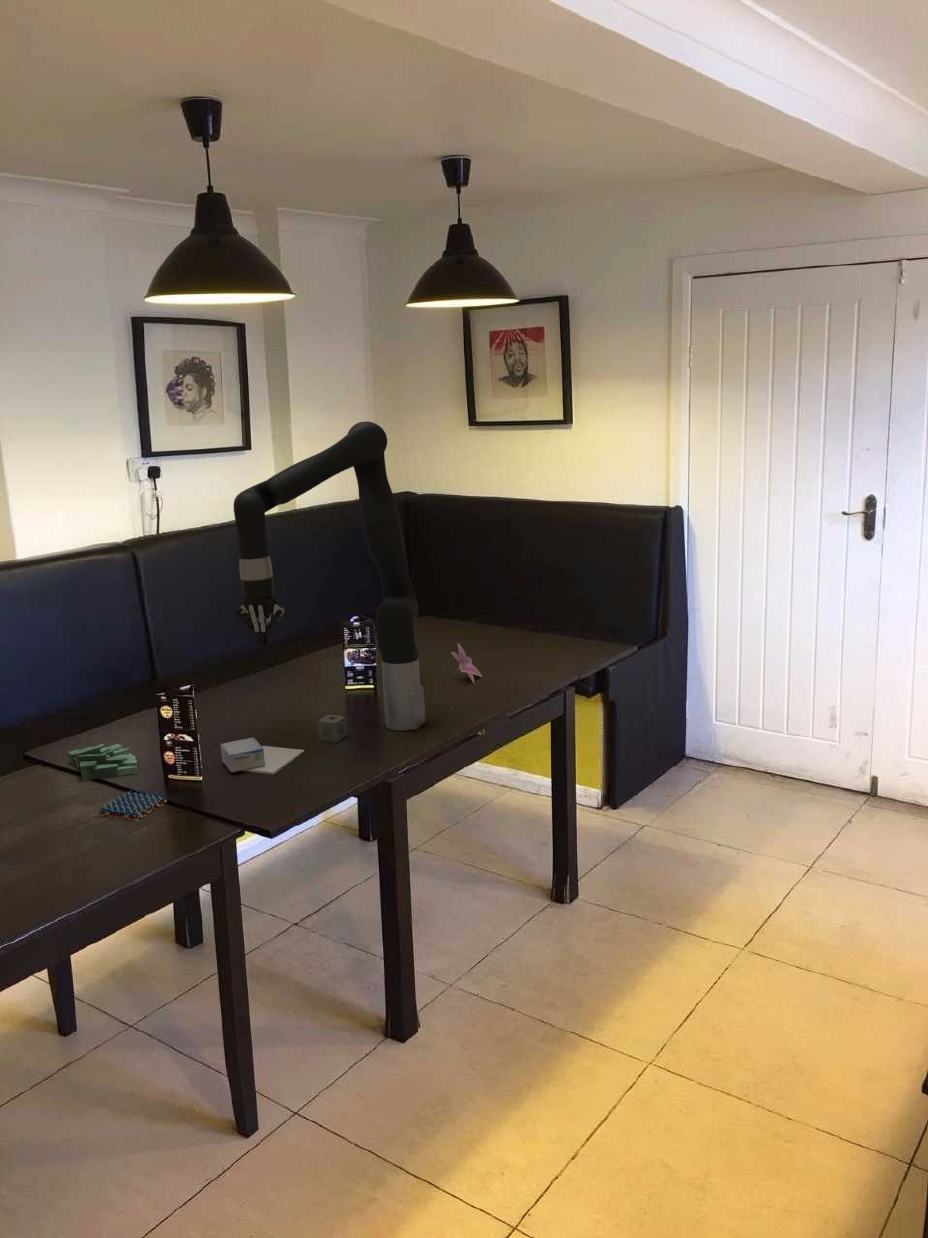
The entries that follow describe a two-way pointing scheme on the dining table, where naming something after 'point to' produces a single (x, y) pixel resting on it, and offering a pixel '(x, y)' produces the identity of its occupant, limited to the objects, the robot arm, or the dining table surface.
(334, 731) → the dice cube
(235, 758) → the medicine box
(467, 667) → the lily
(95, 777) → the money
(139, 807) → the woven mat
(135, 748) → the dining table surface
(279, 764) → the mat
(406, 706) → the robot arm
